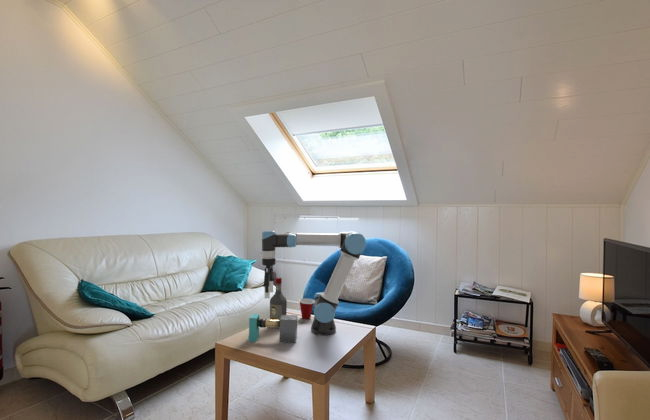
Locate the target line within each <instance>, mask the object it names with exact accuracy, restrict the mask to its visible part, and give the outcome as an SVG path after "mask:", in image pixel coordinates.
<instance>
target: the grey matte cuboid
mask: <svg viewBox="0 0 650 420" xmlns="http://www.w3.org/2000/svg"><path fill="white" fill-rule="evenodd" d="M278 339H279V340H278V341H279V343H285V344H286V343H288V344H289V343H290V344H291V343H292V344H293V343H294V344H295V343H296V342H297V339H298V315H296V314H295V315H294V314H286V315H282V316H281V318H280V328H279V338H278Z"/></svg>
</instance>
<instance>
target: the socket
mask: <svg viewBox="0 0 650 420" xmlns="http://www.w3.org/2000/svg"><path fill="white" fill-rule="evenodd" d="M257 319H260V313H252V314H251V315H250V316H249V317H248V342H250V343H251V342H253V343H256V342H257V341H258V339H259V337H260V327H257Z"/></svg>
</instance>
